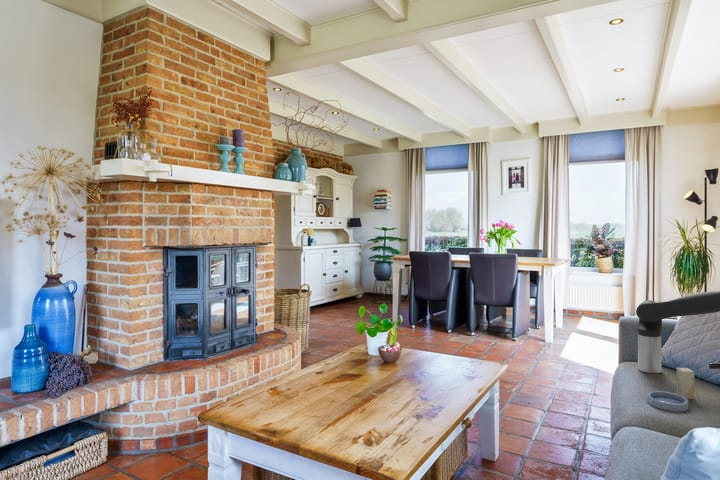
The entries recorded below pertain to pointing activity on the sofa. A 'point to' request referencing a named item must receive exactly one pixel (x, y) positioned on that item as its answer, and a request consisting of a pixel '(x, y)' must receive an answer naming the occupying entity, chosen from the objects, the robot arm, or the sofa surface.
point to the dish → (667, 401)
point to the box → (685, 383)
